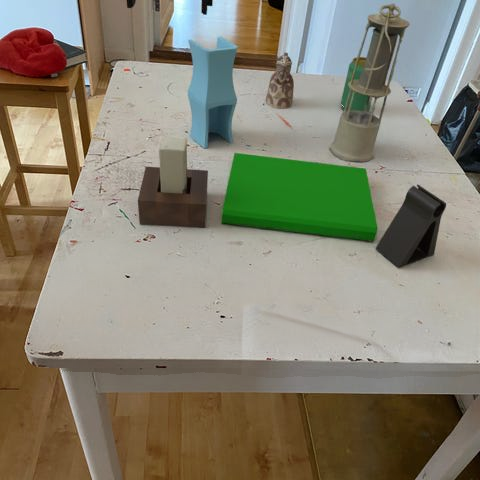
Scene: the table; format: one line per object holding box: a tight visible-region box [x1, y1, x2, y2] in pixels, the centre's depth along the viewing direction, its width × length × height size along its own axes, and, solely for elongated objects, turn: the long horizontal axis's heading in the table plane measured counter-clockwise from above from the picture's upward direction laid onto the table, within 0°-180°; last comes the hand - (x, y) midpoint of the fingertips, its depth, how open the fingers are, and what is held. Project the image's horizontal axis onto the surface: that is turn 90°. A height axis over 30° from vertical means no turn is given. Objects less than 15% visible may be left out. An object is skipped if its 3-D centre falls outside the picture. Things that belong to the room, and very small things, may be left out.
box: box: [158, 136, 188, 194], centre depth 85 cm, size 5×4×13 cm
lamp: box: [329, 3, 411, 162], centre depth 100 cm, size 10×13×30 cm
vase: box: [187, 36, 238, 150], centre depth 103 cm, size 8×8×20 cm
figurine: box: [265, 52, 295, 110], centre depth 124 cm, size 7×7×12 cm
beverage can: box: [340, 56, 373, 111], centre depth 126 cm, size 8×8×12 cm
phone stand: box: [375, 183, 447, 269], centre depth 81 cm, size 9×6×12 cm, turn 121°
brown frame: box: [137, 166, 209, 229], centre depth 87 cm, size 12×12×5 cm
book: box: [221, 152, 378, 242], centre depth 93 cm, size 22×28×3 cm
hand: (168, 8), depth 63 cm, fingers open, 9 cm apart
